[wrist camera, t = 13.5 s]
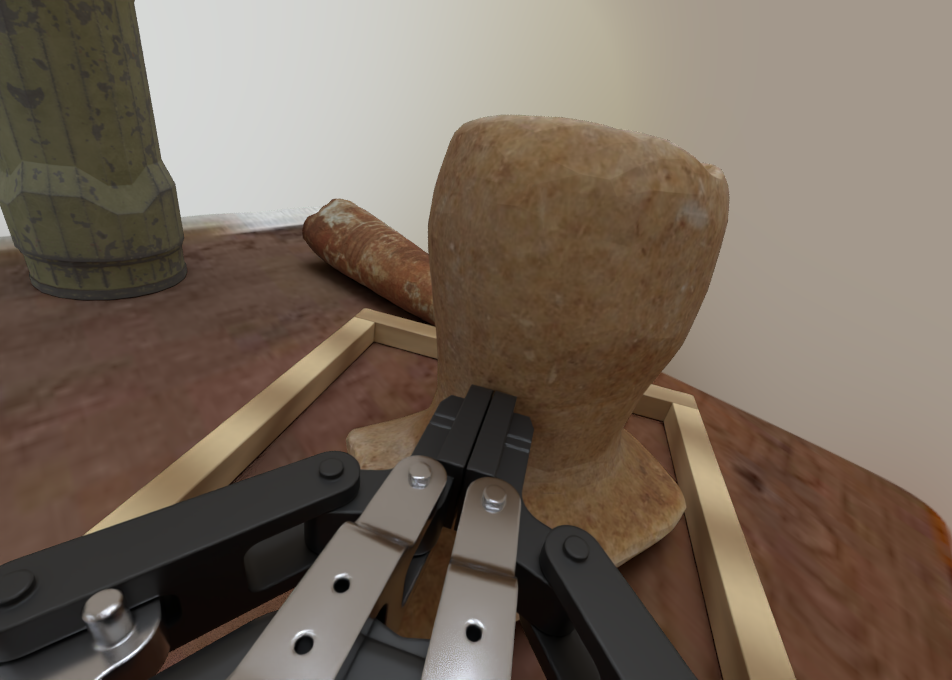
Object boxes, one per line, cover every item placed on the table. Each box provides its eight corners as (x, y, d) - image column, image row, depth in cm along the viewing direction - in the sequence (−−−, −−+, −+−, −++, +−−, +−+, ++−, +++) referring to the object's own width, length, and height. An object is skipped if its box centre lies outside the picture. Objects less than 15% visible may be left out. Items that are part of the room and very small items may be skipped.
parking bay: (850, 956, 10) (893, 944, 9) (35, 616, 12) (18, 586, 12) (683, 414, 27) (693, 395, 27) (363, 326, 30) (364, 307, 30)
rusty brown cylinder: (360, 253, 43) (362, 196, 40) (501, 338, 32) (517, 268, 30) (298, 261, 38) (296, 197, 36) (437, 362, 28) (449, 282, 25)
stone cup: (548, 386, 28) (625, 129, 20) (708, 543, 19) (942, 187, 12) (292, 435, 20) (272, 61, 13) (358, 730, 11) (409, 84, 4)
